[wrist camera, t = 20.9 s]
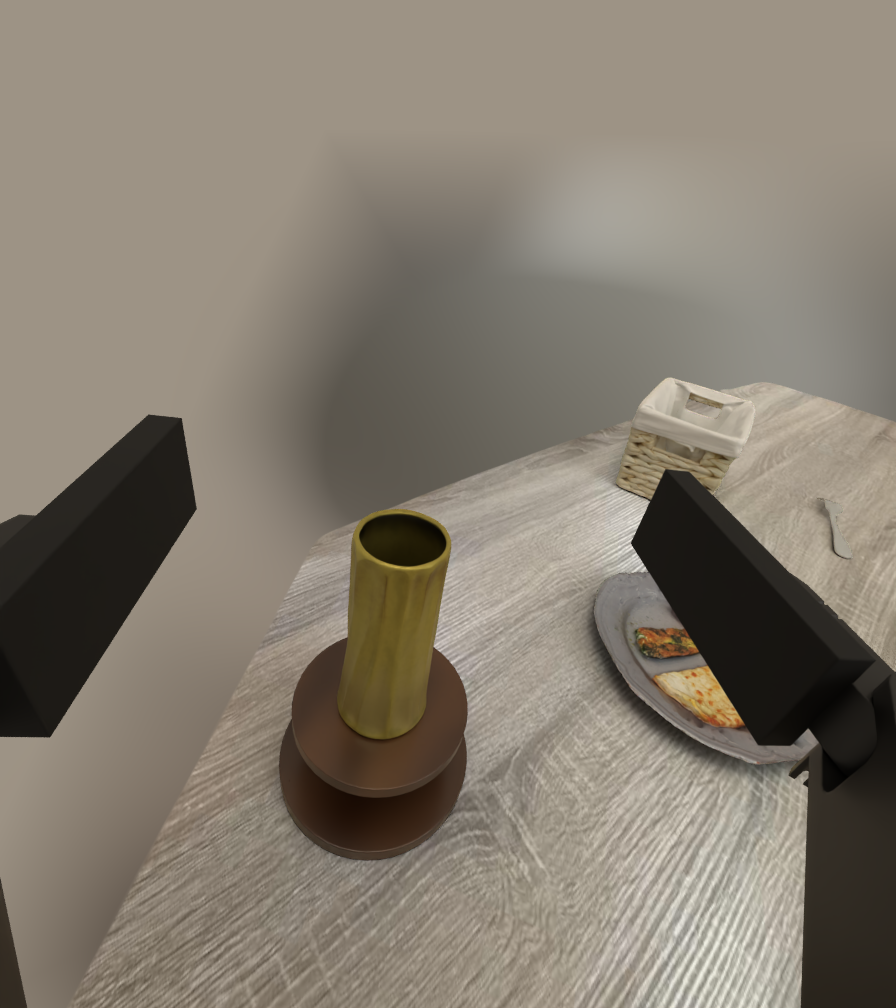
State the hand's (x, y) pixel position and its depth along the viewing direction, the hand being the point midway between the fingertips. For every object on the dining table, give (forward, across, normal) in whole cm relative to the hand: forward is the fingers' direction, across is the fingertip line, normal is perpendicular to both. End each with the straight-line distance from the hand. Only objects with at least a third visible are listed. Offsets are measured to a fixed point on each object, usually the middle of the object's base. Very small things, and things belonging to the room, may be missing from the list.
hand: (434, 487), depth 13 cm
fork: (+48, +75, -30) cm, 94 cm away
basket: (+59, +49, -30) cm, 83 cm away
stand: (+9, 0, -30) cm, 31 cm away
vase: (+9, 0, -23) cm, 25 cm away
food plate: (+19, +34, -30) cm, 49 cm away
